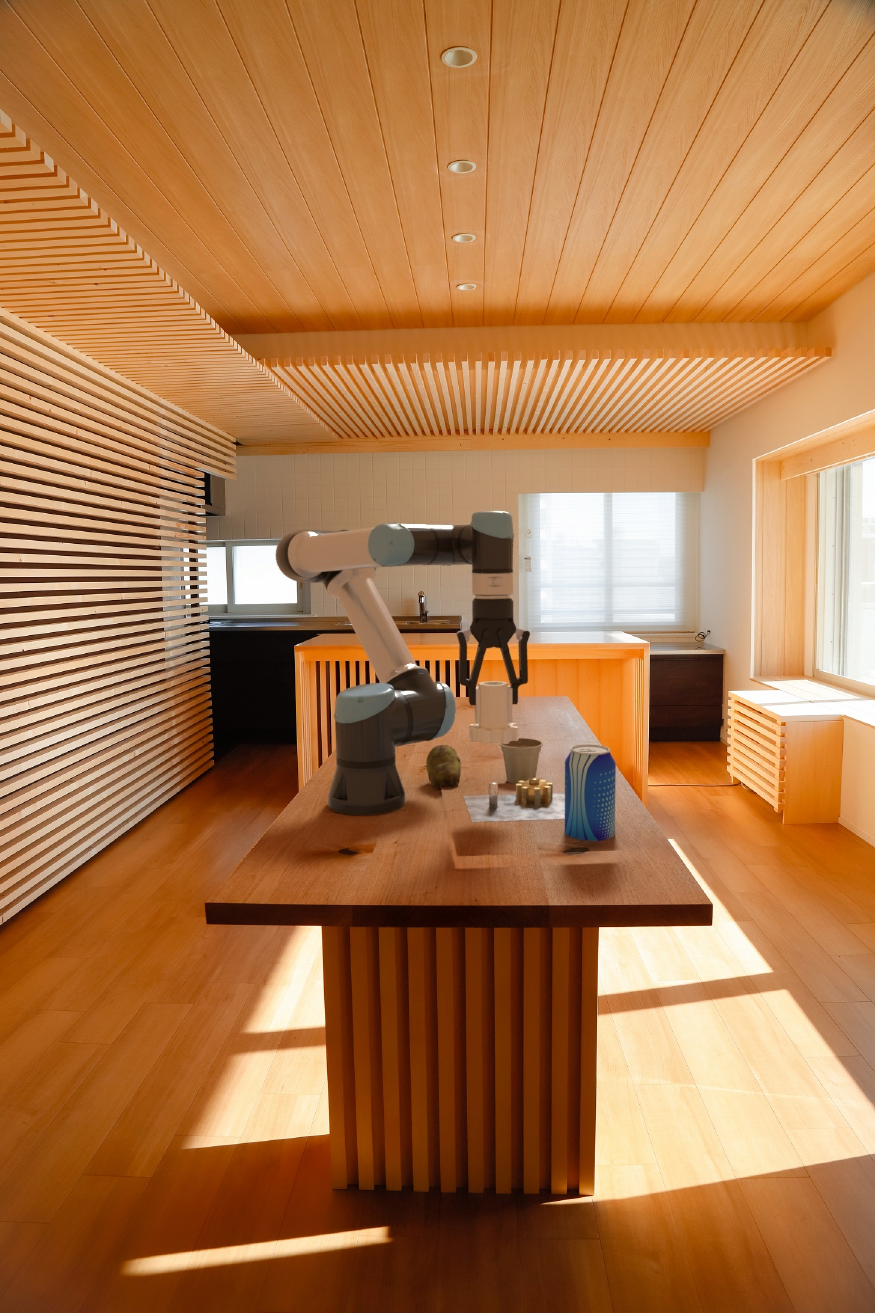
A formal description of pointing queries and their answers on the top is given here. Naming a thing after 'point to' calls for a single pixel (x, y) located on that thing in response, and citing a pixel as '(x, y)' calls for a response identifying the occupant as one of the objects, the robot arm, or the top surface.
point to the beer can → (590, 793)
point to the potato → (443, 767)
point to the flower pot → (521, 759)
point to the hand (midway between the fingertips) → (493, 721)
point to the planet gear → (493, 715)
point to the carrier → (518, 803)
